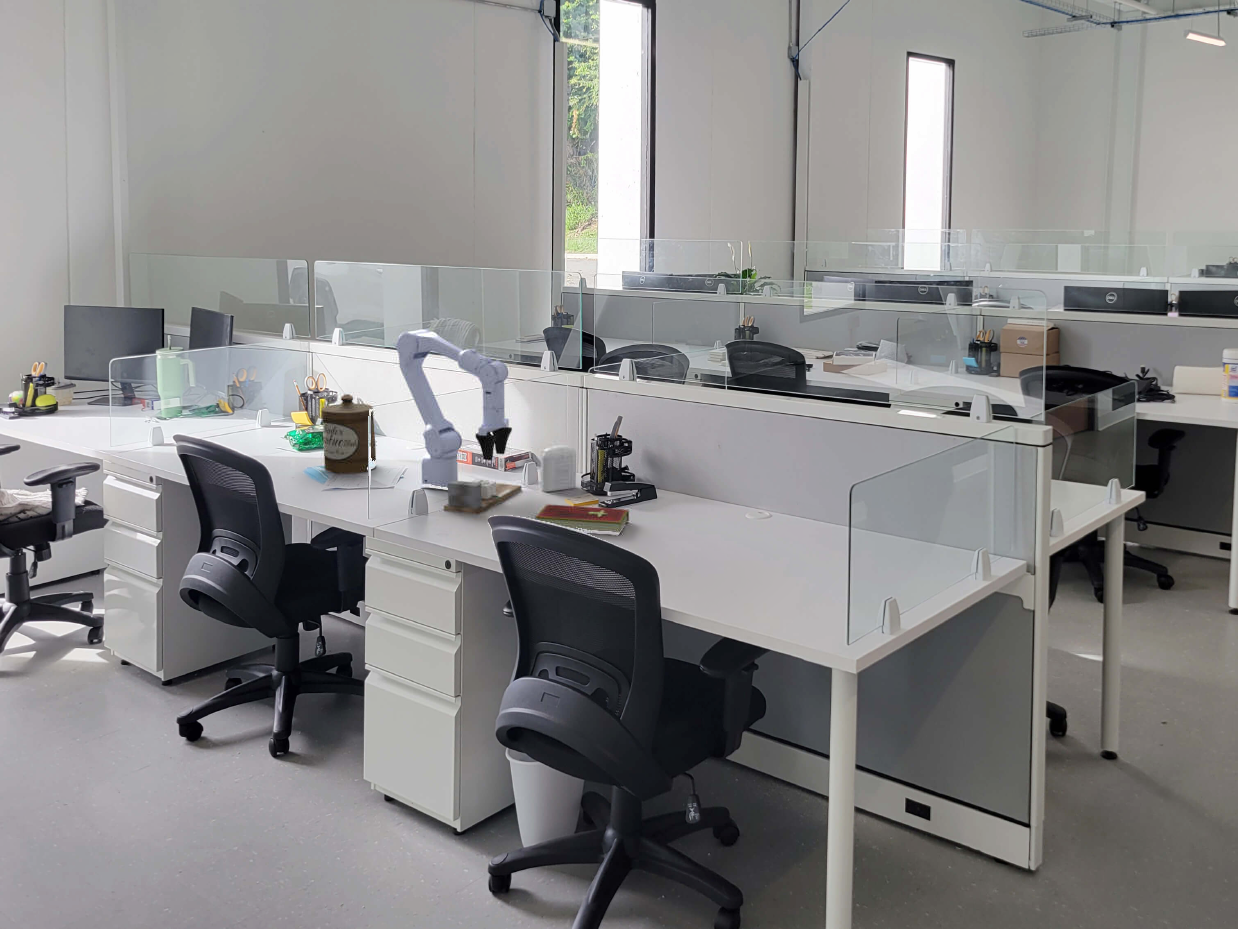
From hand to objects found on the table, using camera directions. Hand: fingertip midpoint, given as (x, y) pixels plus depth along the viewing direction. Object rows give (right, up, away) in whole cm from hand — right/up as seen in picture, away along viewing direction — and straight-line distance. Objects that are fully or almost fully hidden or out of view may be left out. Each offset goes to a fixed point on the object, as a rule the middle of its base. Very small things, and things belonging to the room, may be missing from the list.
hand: (494, 456), depth 291 cm
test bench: (-2, -12, -4) cm, 12 cm away
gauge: (-2, -11, -7) cm, 13 cm away
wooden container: (-46, -3, +29) cm, 54 cm away
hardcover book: (+25, -18, -26) cm, 40 cm away
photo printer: (+17, -9, +9) cm, 21 cm away
